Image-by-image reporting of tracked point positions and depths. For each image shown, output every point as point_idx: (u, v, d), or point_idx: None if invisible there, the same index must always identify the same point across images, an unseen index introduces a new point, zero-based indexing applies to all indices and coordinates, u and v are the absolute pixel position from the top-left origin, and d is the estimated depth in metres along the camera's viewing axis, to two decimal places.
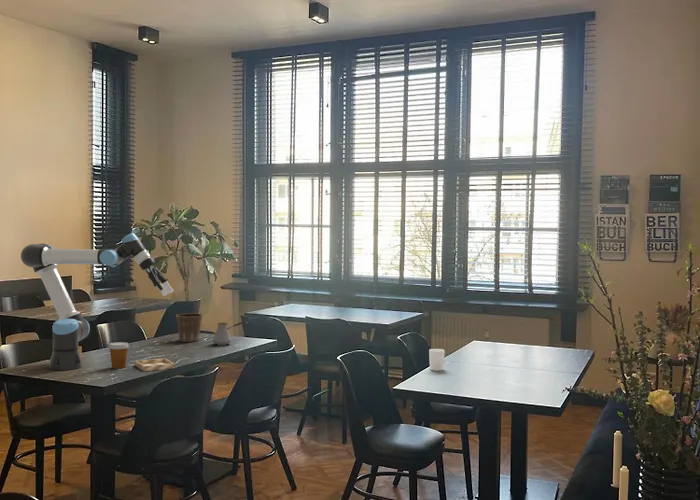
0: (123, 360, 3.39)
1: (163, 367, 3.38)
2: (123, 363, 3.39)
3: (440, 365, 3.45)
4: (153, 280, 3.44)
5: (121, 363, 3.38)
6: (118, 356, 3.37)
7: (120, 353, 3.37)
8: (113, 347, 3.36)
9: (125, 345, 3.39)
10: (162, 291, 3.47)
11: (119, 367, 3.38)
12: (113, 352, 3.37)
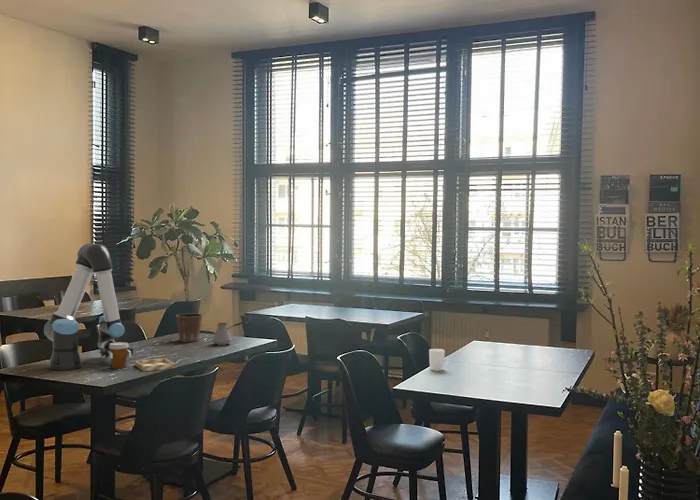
0: (123, 360, 3.39)
1: (163, 367, 3.38)
2: (123, 363, 3.39)
3: (440, 365, 3.45)
4: None
5: (121, 363, 3.38)
6: (118, 356, 3.37)
7: (120, 353, 3.37)
8: (113, 347, 3.36)
9: (125, 345, 3.39)
10: None
11: (119, 367, 3.38)
12: (113, 352, 3.37)
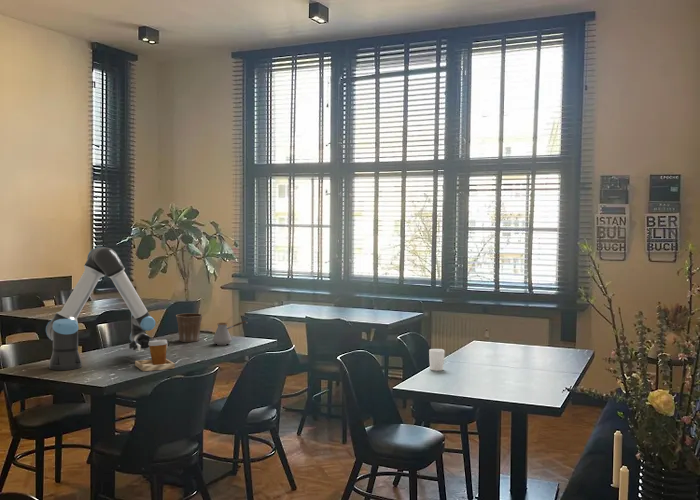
0: (164, 356, 3.44)
1: (163, 367, 3.38)
2: (164, 359, 3.45)
3: (440, 365, 3.45)
4: None
5: (162, 359, 3.44)
6: (159, 352, 3.43)
7: (161, 349, 3.43)
8: (154, 344, 3.42)
9: (165, 341, 3.45)
10: None
11: (161, 363, 3.43)
12: (154, 349, 3.42)
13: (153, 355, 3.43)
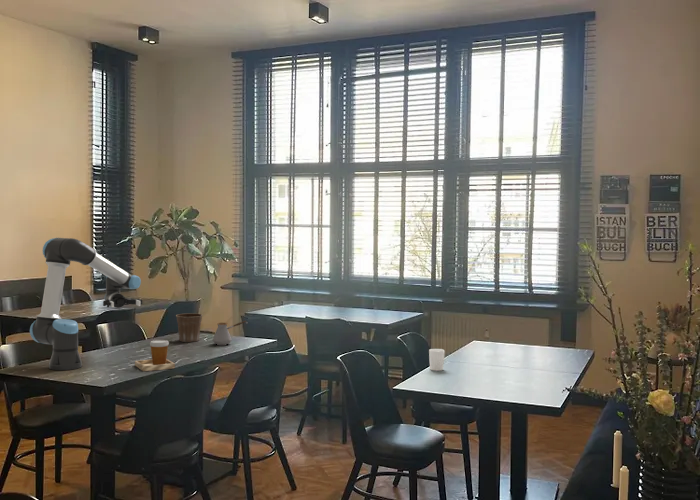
0: (164, 357, 3.44)
1: (163, 367, 3.38)
2: (164, 360, 3.45)
3: (440, 365, 3.45)
4: None
5: (163, 361, 3.44)
6: (160, 353, 3.42)
7: (162, 350, 3.43)
8: (155, 345, 3.41)
9: (166, 342, 3.44)
10: None
11: None
12: (155, 350, 3.42)
13: (154, 356, 3.42)
